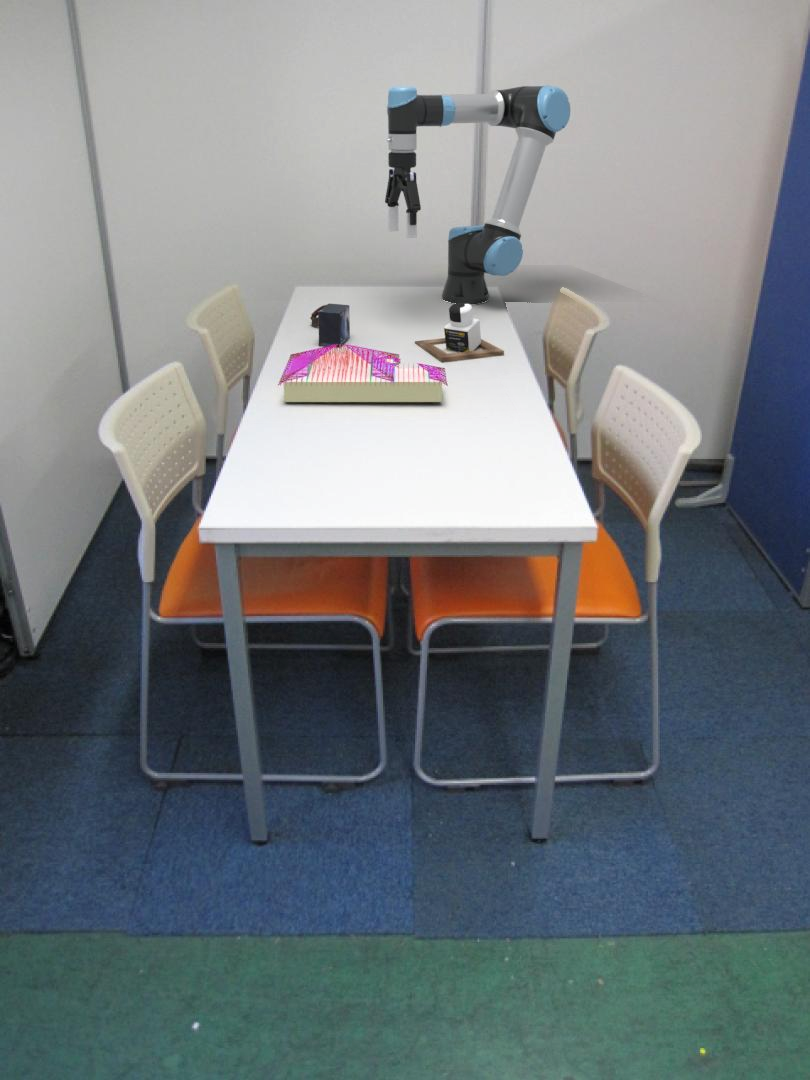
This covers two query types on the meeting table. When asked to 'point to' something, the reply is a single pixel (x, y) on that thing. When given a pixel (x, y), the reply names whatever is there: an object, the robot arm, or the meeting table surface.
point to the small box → (334, 325)
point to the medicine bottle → (462, 329)
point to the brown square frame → (443, 357)
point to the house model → (358, 377)
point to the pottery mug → (315, 316)
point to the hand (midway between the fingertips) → (402, 234)
